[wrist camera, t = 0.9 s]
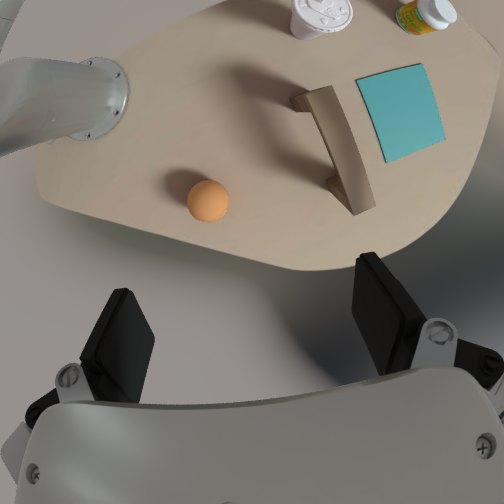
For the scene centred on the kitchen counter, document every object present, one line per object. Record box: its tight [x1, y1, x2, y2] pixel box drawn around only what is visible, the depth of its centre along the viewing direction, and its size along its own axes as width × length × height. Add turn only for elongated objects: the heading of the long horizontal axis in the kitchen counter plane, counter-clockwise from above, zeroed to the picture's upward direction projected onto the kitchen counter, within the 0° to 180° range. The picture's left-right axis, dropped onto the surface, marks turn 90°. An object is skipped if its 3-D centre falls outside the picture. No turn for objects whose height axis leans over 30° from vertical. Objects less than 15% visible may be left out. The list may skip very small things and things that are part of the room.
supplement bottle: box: [396, 0, 457, 35], centre depth 19 cm, size 5×5×10 cm
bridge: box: [290, 85, 376, 216], centre depth 30 cm, size 3×14×9 cm, turn 26°
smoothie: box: [290, 0, 353, 40], centre depth 20 cm, size 6×6×14 cm
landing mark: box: [356, 64, 446, 163], centre depth 31 cm, size 13×13×1 cm
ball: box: [187, 180, 229, 222], centre depth 35 cm, size 6×6×6 cm
